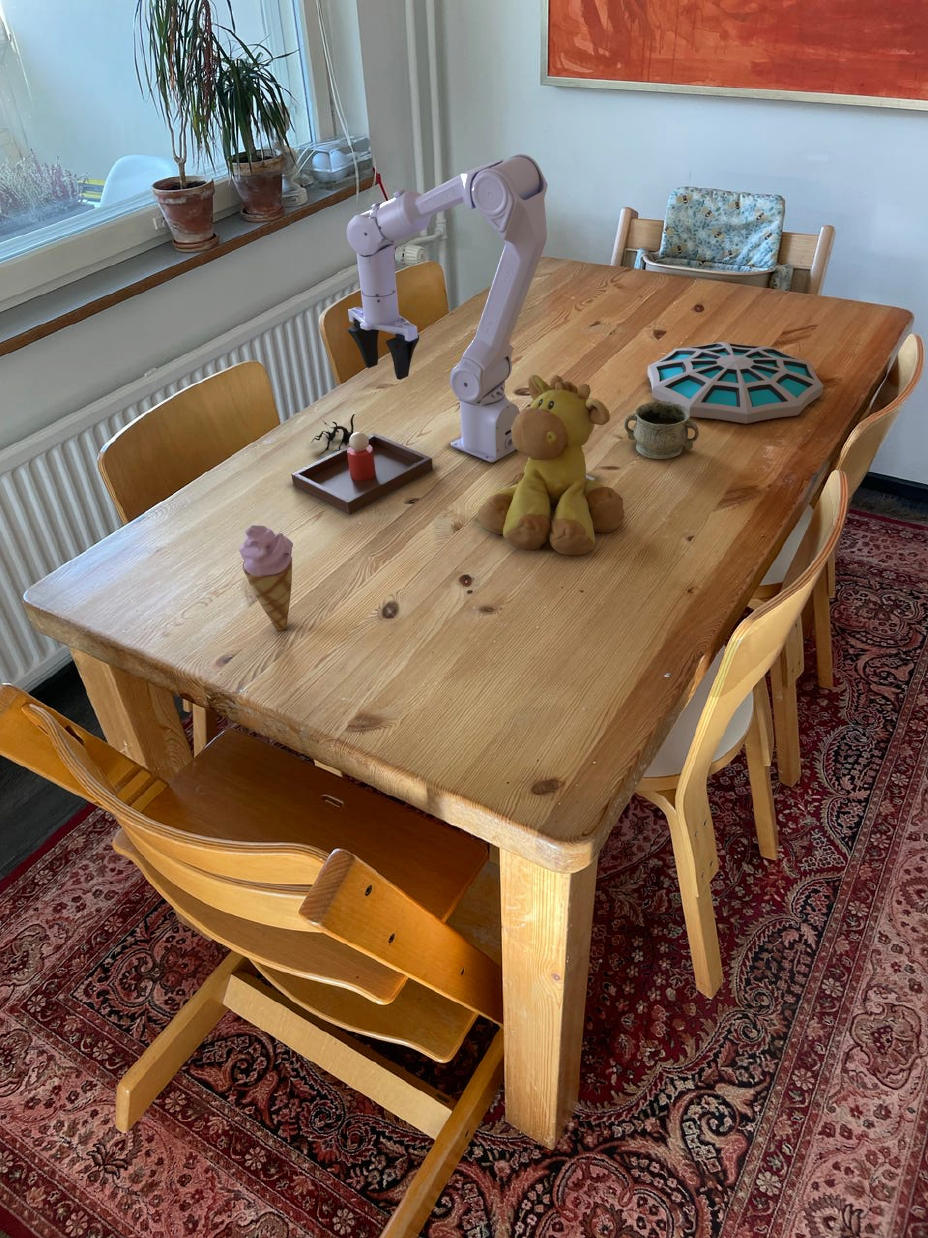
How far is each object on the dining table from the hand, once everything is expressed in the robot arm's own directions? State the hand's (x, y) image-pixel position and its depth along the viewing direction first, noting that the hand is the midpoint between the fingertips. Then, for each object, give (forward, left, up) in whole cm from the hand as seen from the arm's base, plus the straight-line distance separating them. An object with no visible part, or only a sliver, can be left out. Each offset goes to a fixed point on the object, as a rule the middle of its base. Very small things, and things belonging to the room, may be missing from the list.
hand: (387, 371), depth 158 cm
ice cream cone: (-31, +48, -10) cm, 58 cm away
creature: (+1, +12, -10) cm, 16 cm away
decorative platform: (-38, -48, -10) cm, 62 cm away
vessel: (-41, -21, -10) cm, 47 cm away
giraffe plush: (-41, +6, -10) cm, 43 cm away
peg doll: (-10, +16, -9) cm, 21 cm away
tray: (-10, +16, -9) cm, 21 cm away
